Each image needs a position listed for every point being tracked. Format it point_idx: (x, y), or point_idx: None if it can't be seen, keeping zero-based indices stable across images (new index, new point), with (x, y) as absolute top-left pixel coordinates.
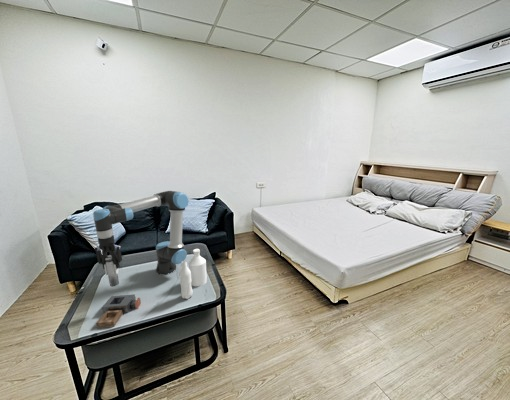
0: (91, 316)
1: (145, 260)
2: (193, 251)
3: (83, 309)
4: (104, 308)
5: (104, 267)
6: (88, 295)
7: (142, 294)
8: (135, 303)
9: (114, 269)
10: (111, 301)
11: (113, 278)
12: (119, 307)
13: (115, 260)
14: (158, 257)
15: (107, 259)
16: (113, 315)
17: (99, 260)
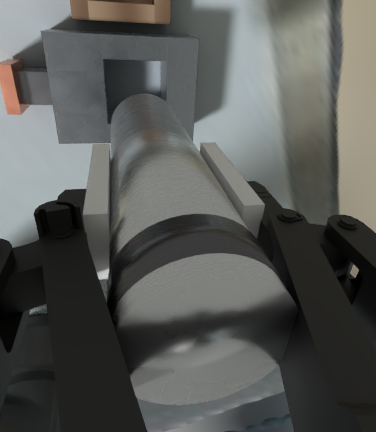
0: (243, 30)
1: None
2: None
3: (301, 95)
4: (184, 37)
5: (247, 184)
6: (314, 191)
7: (61, 181)
8: (9, 63)
9: (114, 176)
10: (168, 90)
11: (129, 119)
12: (94, 33)
13: (51, 269)
14: (50, 405)
15: (207, 259)
16: (119, 2)
17: (370, 254)
